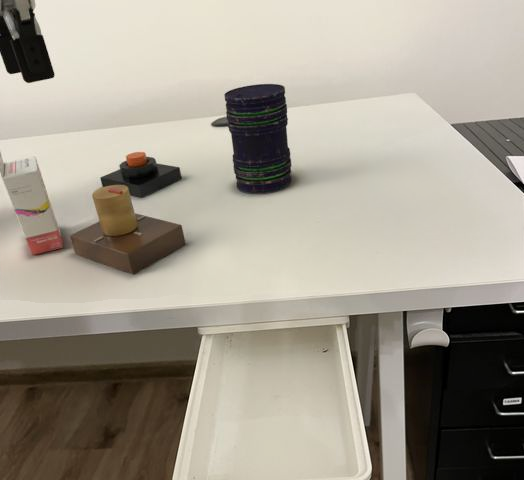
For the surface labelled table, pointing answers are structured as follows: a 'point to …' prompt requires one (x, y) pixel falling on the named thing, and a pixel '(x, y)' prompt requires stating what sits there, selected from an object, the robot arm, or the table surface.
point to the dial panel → (129, 244)
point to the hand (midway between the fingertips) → (30, 75)
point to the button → (136, 159)
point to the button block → (143, 177)
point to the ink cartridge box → (31, 204)
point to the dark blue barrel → (259, 137)
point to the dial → (115, 210)
